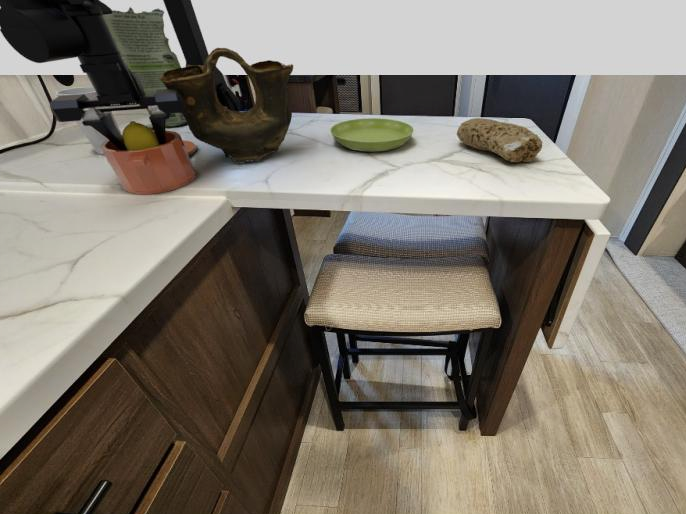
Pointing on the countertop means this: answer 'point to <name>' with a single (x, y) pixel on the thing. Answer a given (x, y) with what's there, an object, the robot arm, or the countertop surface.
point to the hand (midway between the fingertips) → (149, 155)
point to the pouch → (145, 49)
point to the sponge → (500, 139)
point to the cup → (89, 131)
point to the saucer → (372, 134)
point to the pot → (151, 166)
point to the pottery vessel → (232, 126)
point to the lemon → (139, 137)
